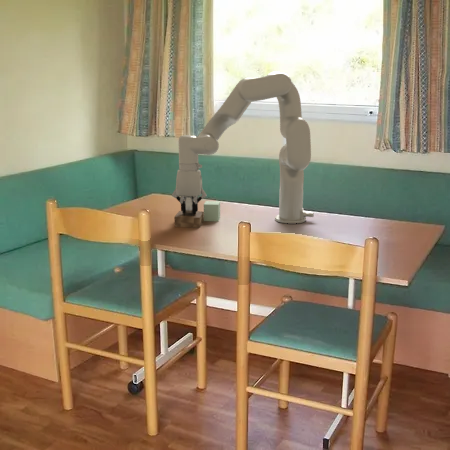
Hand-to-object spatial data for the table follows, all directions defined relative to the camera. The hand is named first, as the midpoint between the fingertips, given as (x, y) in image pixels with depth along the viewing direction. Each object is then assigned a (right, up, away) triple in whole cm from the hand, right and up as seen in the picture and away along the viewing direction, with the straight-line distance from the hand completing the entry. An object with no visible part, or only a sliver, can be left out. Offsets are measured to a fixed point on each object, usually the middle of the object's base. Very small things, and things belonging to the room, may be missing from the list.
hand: (189, 212), depth 252 cm
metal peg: (0, -2, +1) cm, 2 cm away
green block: (+9, -3, +8) cm, 13 cm away
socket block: (0, -5, +1) cm, 5 cm away
